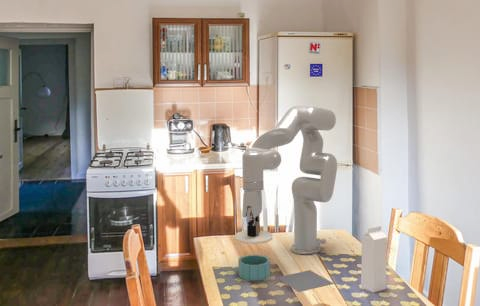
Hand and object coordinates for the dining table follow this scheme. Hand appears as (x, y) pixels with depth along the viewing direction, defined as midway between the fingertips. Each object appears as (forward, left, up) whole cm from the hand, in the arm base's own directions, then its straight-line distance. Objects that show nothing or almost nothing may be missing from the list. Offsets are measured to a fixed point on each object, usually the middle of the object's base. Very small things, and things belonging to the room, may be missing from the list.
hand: (253, 233), depth 190 cm
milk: (-30, +31, -16) cm, 46 cm away
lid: (0, 0, -2) cm, 2 cm away
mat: (-13, +14, -16) cm, 25 cm away
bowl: (0, 0, -16) cm, 16 cm away
